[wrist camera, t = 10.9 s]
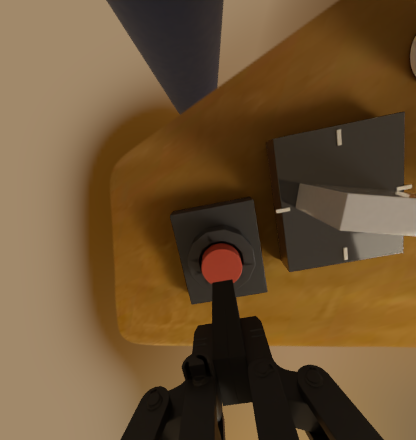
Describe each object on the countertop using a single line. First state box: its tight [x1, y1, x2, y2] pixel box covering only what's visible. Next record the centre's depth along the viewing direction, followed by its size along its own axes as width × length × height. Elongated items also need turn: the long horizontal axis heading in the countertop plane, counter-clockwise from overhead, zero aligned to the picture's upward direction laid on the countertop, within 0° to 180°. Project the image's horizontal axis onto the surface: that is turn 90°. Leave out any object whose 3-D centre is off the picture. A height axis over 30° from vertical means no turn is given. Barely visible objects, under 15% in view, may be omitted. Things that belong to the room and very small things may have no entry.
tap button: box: [170, 197, 267, 304], centre depth 25 cm, size 11×9×4 cm
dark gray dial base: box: [266, 112, 412, 272], centre depth 24 cm, size 14×13×3 cm
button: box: [201, 243, 242, 284], centre depth 22 cm, size 4×4×2 cm
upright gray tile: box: [296, 183, 416, 236], centre depth 18 cm, size 9×2×8 cm, turn 86°
